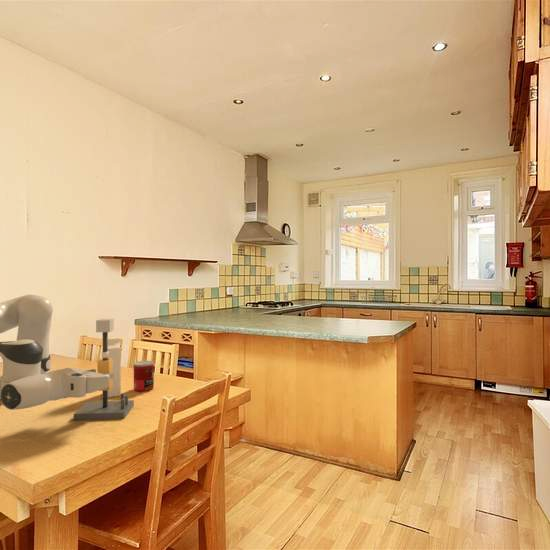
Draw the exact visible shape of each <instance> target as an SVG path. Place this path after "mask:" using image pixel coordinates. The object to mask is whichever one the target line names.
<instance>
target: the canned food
mask: <svg viewBox="0 0 550 550" xmlns="http://www.w3.org/2000/svg"><path fill="white" fill-rule="evenodd" d="M154 367H155V366H154V361H152V360H139V361H136V362H134V363H133V389H134V391H135V392H137V393H144V392H145V391H147V392H149V391H150V390H151V391H153V390H154V386H155V379H154V378H155V372H154V371H155V370H154V369H155V368H154ZM145 393H146V392H145Z"/></svg>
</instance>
